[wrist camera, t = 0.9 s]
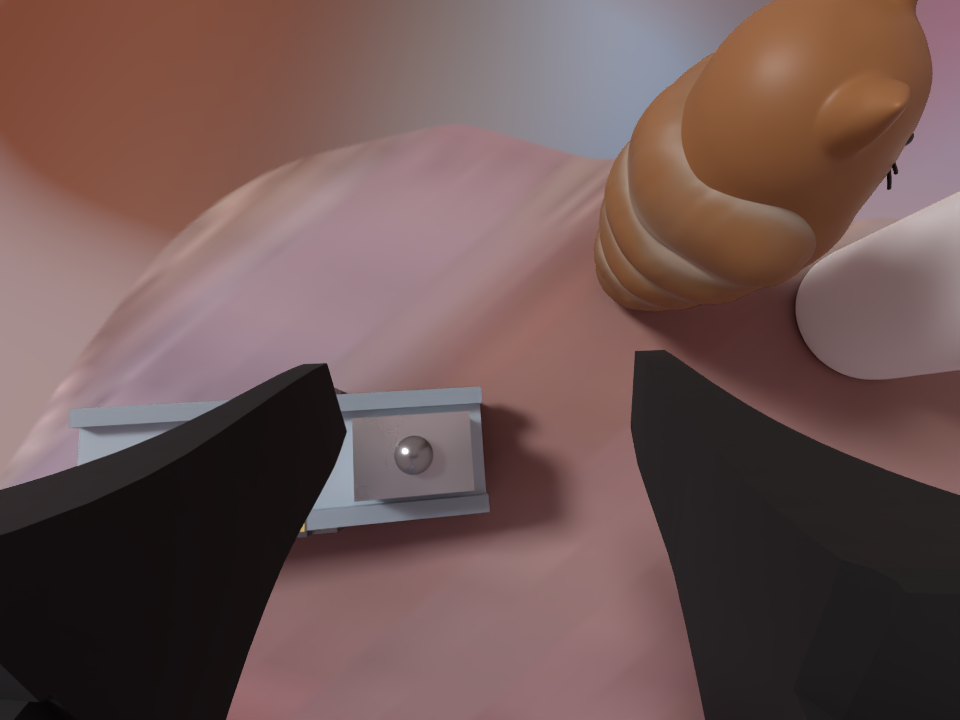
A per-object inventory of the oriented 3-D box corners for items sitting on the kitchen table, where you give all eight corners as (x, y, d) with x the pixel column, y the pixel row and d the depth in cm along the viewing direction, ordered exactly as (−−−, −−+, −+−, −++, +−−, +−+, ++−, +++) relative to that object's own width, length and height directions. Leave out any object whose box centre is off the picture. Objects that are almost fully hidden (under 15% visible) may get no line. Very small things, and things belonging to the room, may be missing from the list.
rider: (465, 484, 23) (476, 491, 19) (360, 493, 22) (352, 503, 19) (461, 414, 23) (470, 410, 20) (358, 421, 23) (350, 417, 19)
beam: (484, 507, 24) (490, 512, 22) (86, 546, 21) (58, 556, 19) (475, 389, 25) (481, 385, 23) (95, 411, 22) (68, 408, 20)
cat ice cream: (667, 370, 27) (1067, 236, 9) (538, 325, 27) (685, 110, 9) (704, 234, 28) (1109, -107, 11) (582, 193, 28) (780, -211, 11)
